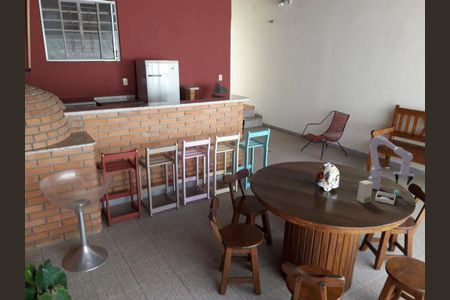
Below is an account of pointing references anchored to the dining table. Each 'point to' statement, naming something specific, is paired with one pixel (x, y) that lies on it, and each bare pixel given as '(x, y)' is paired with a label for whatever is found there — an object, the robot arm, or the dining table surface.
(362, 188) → the skincare box
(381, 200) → the white square frame
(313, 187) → the dining table surface
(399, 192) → the ball
